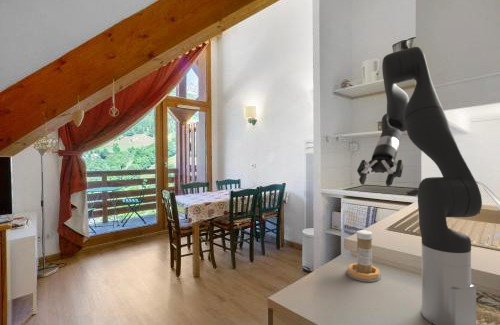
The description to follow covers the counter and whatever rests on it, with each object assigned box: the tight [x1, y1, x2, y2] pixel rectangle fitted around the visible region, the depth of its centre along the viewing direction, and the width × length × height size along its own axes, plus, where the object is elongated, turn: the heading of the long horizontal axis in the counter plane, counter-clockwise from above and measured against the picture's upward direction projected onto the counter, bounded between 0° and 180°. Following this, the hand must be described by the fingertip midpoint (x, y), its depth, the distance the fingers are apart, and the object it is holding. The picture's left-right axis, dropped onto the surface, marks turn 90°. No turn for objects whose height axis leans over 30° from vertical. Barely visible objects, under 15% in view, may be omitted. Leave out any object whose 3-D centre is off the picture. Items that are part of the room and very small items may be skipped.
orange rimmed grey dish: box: [346, 262, 382, 283], centre depth 85 cm, size 10×10×2 cm
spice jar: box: [356, 229, 373, 274], centre depth 85 cm, size 5×5×13 cm
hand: (374, 184), depth 90 cm, fingers open, 8 cm apart
